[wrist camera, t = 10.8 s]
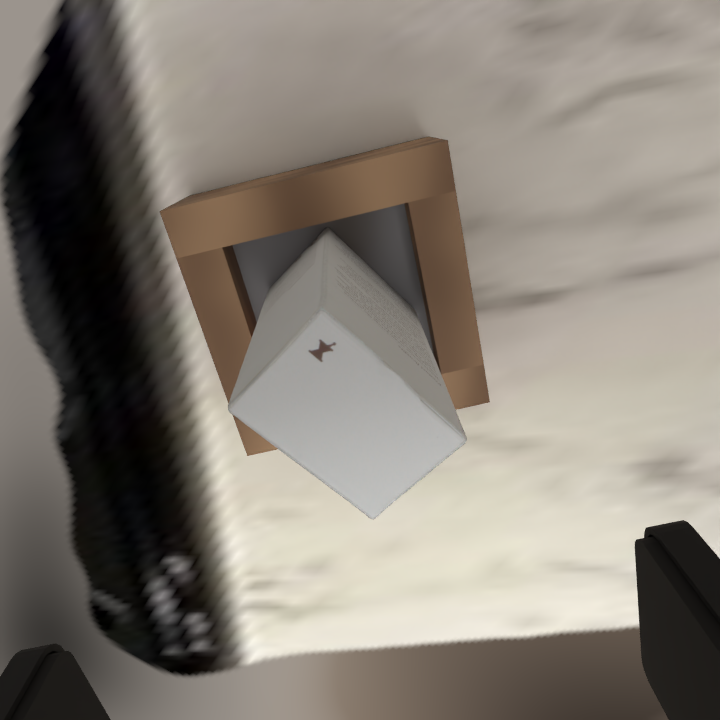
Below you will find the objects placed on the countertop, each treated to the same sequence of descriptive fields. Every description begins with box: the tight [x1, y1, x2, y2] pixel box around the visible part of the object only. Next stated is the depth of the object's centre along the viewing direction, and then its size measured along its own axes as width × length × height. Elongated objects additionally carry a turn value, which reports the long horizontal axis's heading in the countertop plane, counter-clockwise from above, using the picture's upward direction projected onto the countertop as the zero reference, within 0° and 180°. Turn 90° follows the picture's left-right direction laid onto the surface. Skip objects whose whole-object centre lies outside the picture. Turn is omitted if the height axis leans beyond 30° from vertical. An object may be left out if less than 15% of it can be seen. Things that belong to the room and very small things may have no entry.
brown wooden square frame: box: [160, 137, 490, 456], centre depth 28 cm, size 12×12×5 cm
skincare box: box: [228, 228, 467, 519], centre depth 22 cm, size 6×4×12 cm
